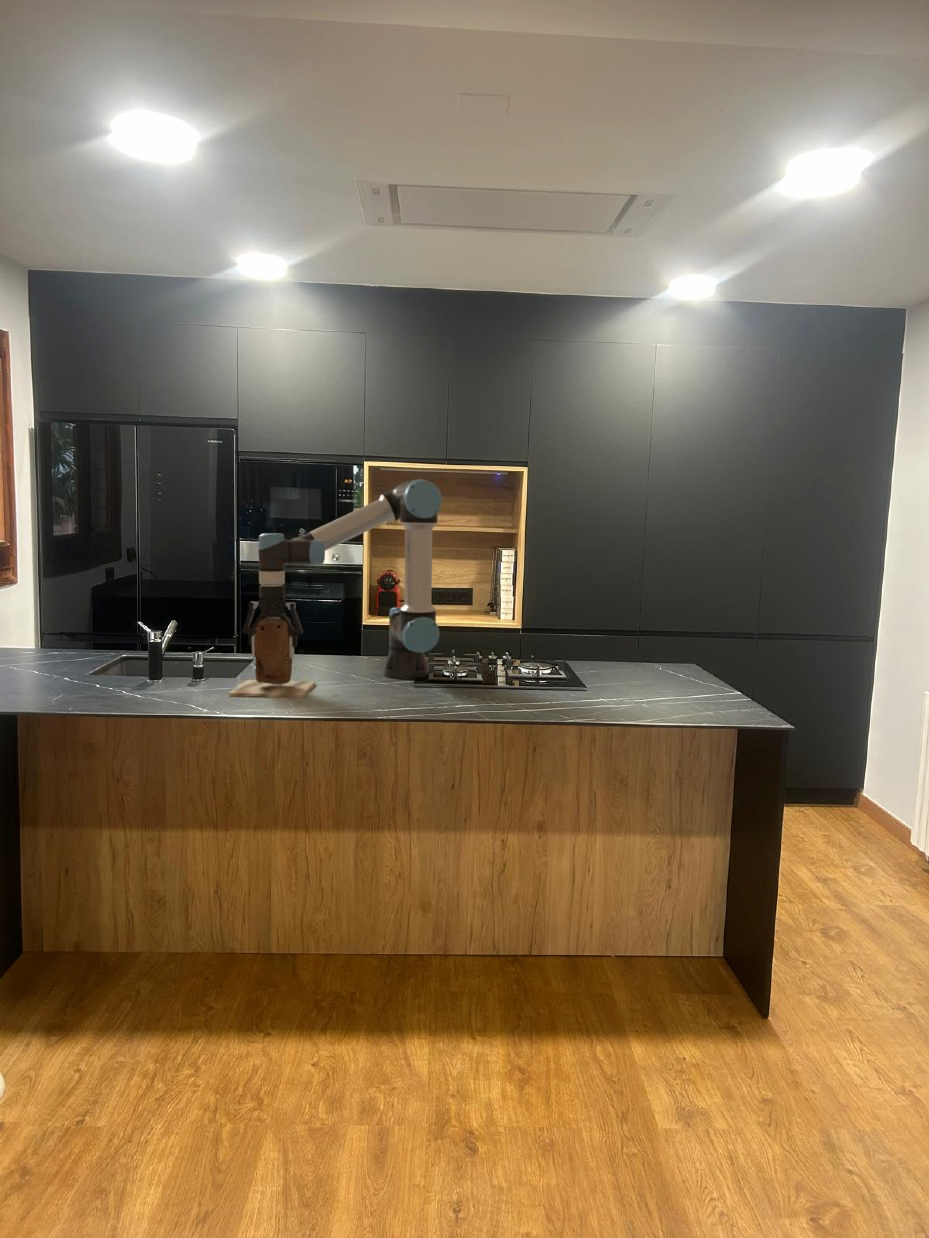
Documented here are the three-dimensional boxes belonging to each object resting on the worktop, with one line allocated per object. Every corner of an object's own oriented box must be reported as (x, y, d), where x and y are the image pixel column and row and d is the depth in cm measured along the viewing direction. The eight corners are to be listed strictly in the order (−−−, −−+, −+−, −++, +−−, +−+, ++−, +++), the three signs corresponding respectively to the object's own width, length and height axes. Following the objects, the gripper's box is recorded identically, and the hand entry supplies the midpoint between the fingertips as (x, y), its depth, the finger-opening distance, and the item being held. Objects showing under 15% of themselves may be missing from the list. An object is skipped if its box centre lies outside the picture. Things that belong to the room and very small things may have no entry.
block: (294, 680, 261) (293, 616, 258) (288, 685, 253) (287, 619, 251) (259, 679, 261) (258, 615, 258) (252, 684, 254) (251, 619, 251)
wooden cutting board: (315, 684, 266) (315, 681, 266) (302, 697, 248) (302, 694, 248) (246, 682, 267) (246, 679, 267) (228, 696, 249) (228, 692, 249)
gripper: (313, 584, 256) (313, 655, 259) (237, 582, 257) (239, 653, 260) (307, 586, 249) (308, 660, 252) (230, 585, 250) (231, 658, 253)
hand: (273, 656), depth 256 cm, fingers closed on block, 11 cm apart
